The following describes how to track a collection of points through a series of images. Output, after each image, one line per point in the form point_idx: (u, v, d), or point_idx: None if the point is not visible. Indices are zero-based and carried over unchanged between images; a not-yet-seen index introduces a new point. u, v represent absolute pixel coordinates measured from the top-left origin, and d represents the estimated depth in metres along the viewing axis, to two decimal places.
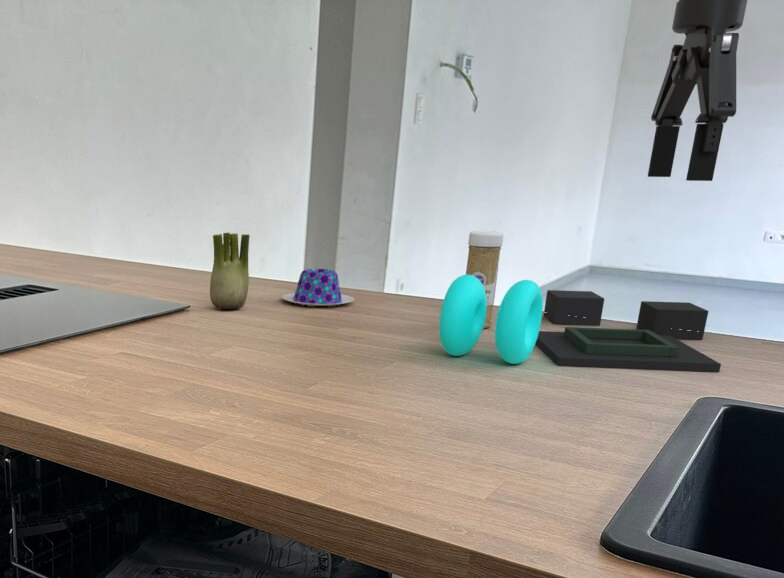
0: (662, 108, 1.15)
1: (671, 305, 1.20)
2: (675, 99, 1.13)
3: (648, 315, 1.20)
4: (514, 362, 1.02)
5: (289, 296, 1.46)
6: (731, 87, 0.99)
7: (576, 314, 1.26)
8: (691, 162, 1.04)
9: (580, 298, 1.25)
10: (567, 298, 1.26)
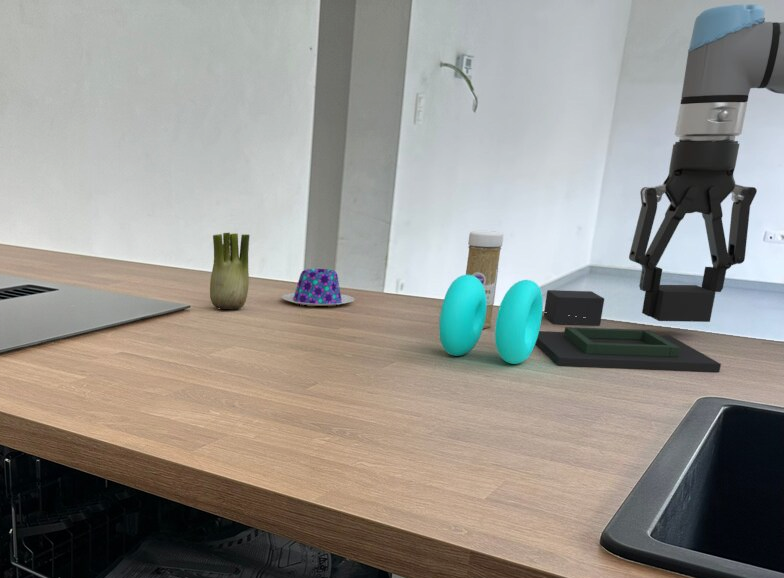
0: (659, 249, 1.16)
1: (677, 288, 1.19)
2: None
3: None
4: (514, 362, 1.02)
5: (289, 296, 1.46)
6: None
7: (576, 314, 1.26)
8: None
9: (580, 298, 1.25)
10: (567, 298, 1.26)
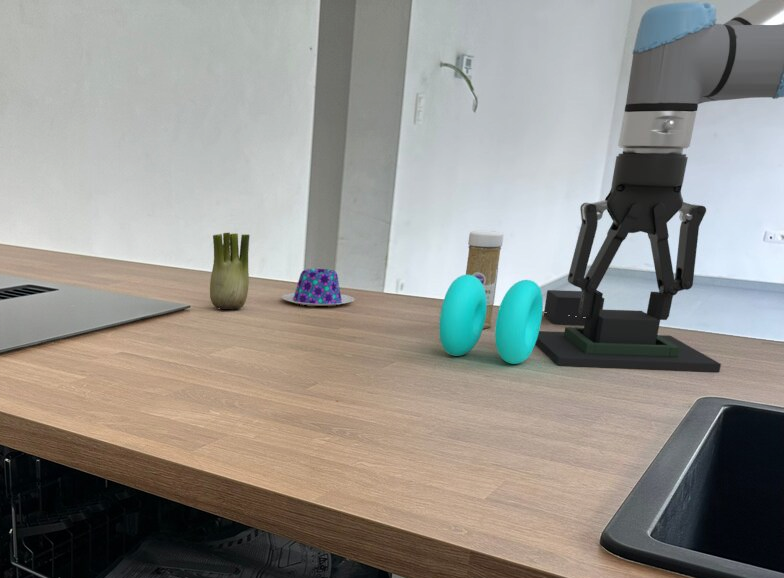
0: (599, 272, 1.05)
1: (620, 314, 1.08)
2: None
3: None
4: (514, 362, 1.02)
5: (289, 296, 1.46)
6: None
7: (576, 314, 1.26)
8: None
9: (580, 298, 1.25)
10: (567, 298, 1.26)
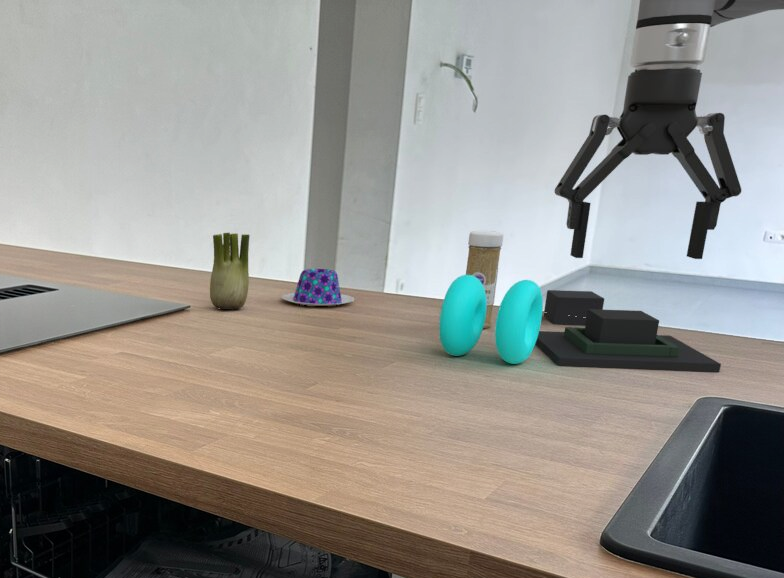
0: (592, 183, 1.02)
1: (619, 314, 1.08)
2: None
3: (594, 324, 1.08)
4: (514, 362, 1.02)
5: (289, 296, 1.46)
6: None
7: (576, 314, 1.26)
8: (703, 241, 1.03)
9: (580, 298, 1.25)
10: (567, 298, 1.26)
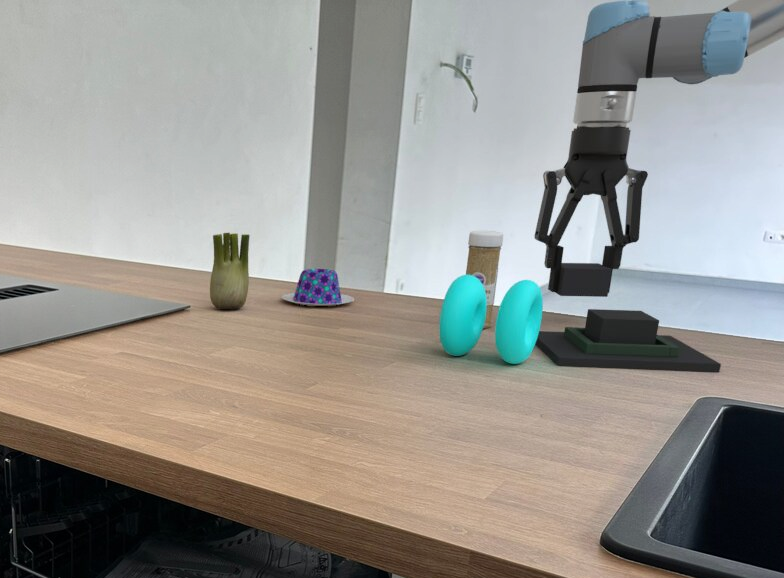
0: (560, 229, 1.24)
1: (619, 314, 1.08)
2: None
3: (594, 324, 1.08)
4: (514, 362, 1.02)
5: (289, 296, 1.46)
6: None
7: (583, 285, 1.25)
8: None
9: (587, 269, 1.24)
10: (573, 270, 1.24)
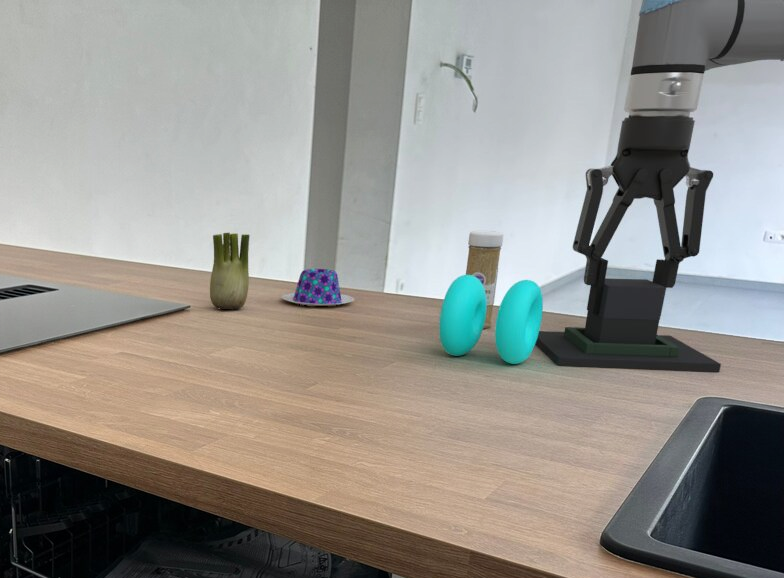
0: (605, 239, 1.04)
1: None
2: None
3: (594, 324, 1.08)
4: (514, 362, 1.02)
5: (289, 296, 1.46)
6: None
7: (631, 306, 1.04)
8: None
9: (636, 287, 1.03)
10: (620, 288, 1.03)
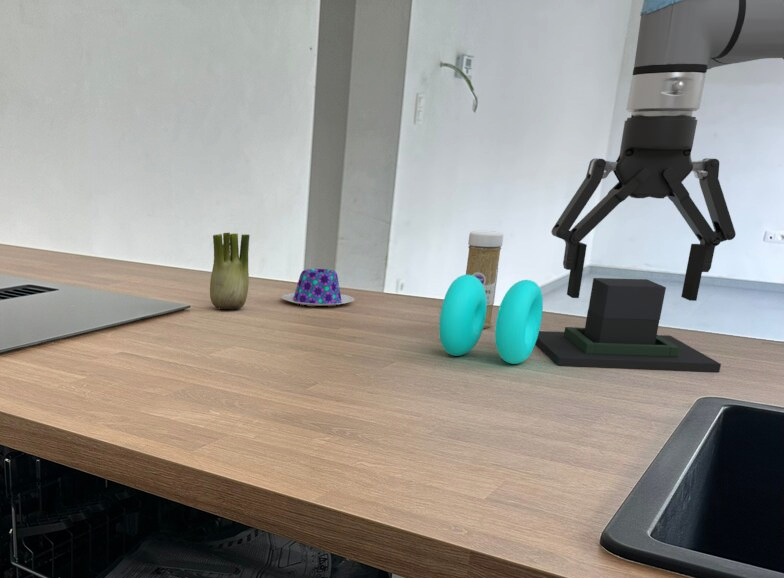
0: (588, 226, 1.04)
1: None
2: None
3: (594, 324, 1.08)
4: (514, 362, 1.02)
5: (289, 296, 1.46)
6: None
7: (631, 306, 1.04)
8: (698, 283, 1.04)
9: (636, 287, 1.03)
10: (620, 287, 1.03)
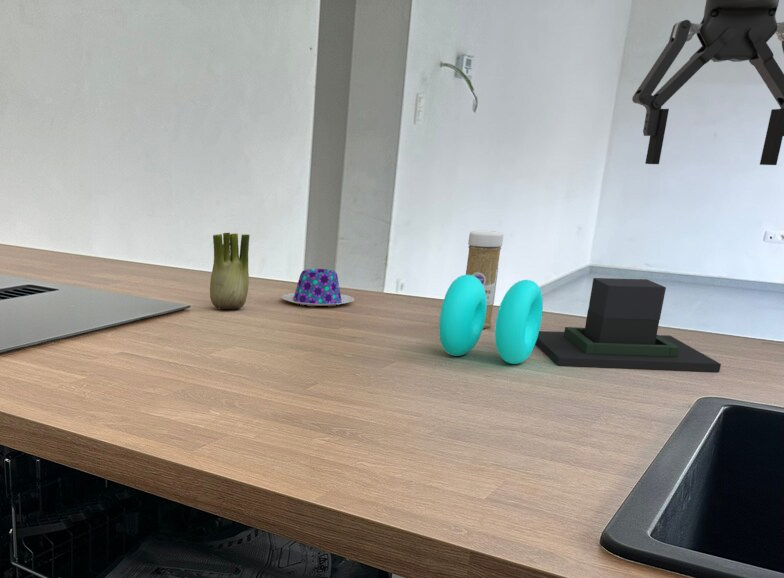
0: (671, 89, 1.05)
1: None
2: None
3: (594, 324, 1.08)
4: (514, 362, 1.02)
5: (289, 296, 1.46)
6: None
7: (631, 306, 1.04)
8: (778, 147, 1.05)
9: (636, 287, 1.03)
10: (620, 287, 1.03)
